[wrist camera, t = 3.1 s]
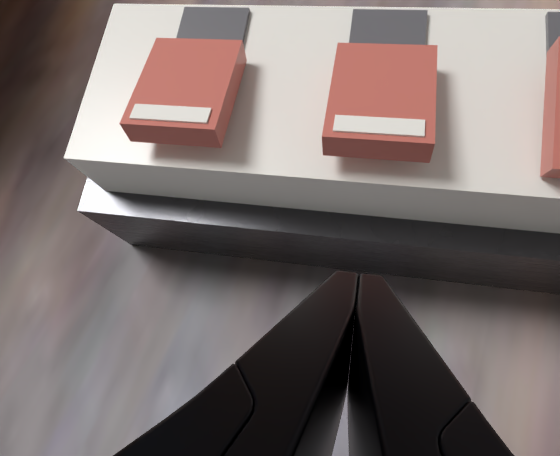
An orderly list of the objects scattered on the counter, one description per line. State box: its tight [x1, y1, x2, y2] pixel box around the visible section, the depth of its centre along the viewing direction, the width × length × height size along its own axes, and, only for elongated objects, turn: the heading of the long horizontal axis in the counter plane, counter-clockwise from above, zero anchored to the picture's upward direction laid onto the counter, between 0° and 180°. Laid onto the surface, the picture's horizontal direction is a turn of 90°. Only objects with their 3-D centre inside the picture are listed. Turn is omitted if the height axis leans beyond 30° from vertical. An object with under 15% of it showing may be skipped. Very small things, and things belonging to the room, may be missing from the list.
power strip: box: [64, 4, 560, 234], centre depth 17 cm, size 22×7×3 cm, turn 81°
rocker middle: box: [322, 43, 438, 163], centre depth 14 cm, size 3×4×1 cm
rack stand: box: [77, 177, 560, 294], centre depth 21 cm, size 24×9×5 cm, turn 81°
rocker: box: [119, 38, 247, 148], centre depth 16 cm, size 3×4×1 cm
